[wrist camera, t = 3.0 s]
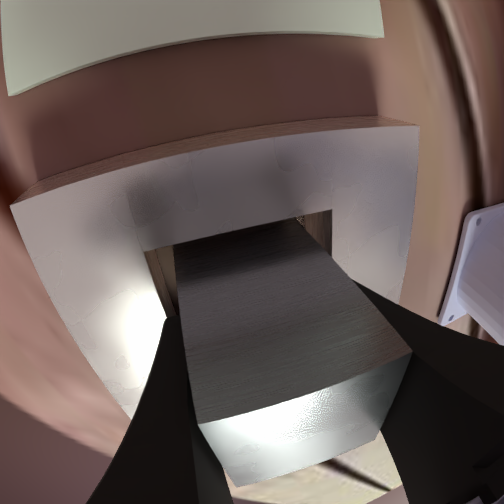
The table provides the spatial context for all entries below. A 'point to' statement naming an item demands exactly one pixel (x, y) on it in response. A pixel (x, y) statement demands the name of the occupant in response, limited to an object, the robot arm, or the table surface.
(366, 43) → the table surface
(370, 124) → the socket block
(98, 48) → the pad
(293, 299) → the peg
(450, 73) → the table surface
